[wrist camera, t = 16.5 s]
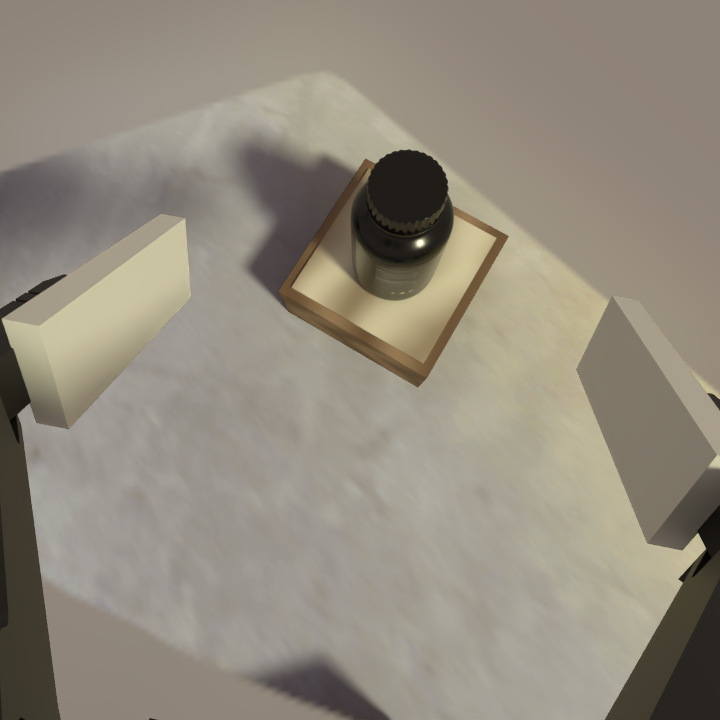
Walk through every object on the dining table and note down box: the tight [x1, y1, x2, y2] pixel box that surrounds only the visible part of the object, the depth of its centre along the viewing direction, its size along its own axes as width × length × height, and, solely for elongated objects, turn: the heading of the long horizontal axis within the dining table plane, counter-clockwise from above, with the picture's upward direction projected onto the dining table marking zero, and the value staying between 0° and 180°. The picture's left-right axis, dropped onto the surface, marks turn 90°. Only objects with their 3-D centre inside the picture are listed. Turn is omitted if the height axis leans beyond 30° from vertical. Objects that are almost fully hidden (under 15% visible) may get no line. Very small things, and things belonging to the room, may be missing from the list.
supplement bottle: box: [351, 150, 454, 301], centre depth 34 cm, size 7×7×12 cm
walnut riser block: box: [278, 159, 509, 387], centre depth 43 cm, size 14×14×6 cm
